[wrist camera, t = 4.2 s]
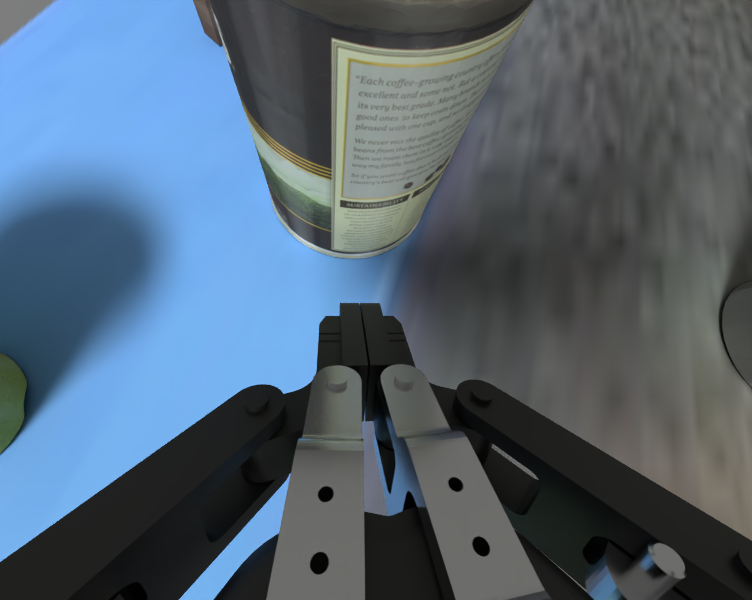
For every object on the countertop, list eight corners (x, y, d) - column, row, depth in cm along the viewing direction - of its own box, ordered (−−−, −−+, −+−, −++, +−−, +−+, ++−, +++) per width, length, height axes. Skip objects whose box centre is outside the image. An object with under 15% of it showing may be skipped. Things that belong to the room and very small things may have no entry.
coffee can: (247, 238, 19) (52, -107, 6) (294, 107, 22) (236, -325, 9) (412, 278, 20) (577, 53, 7) (437, 146, 23) (586, -198, 10)
